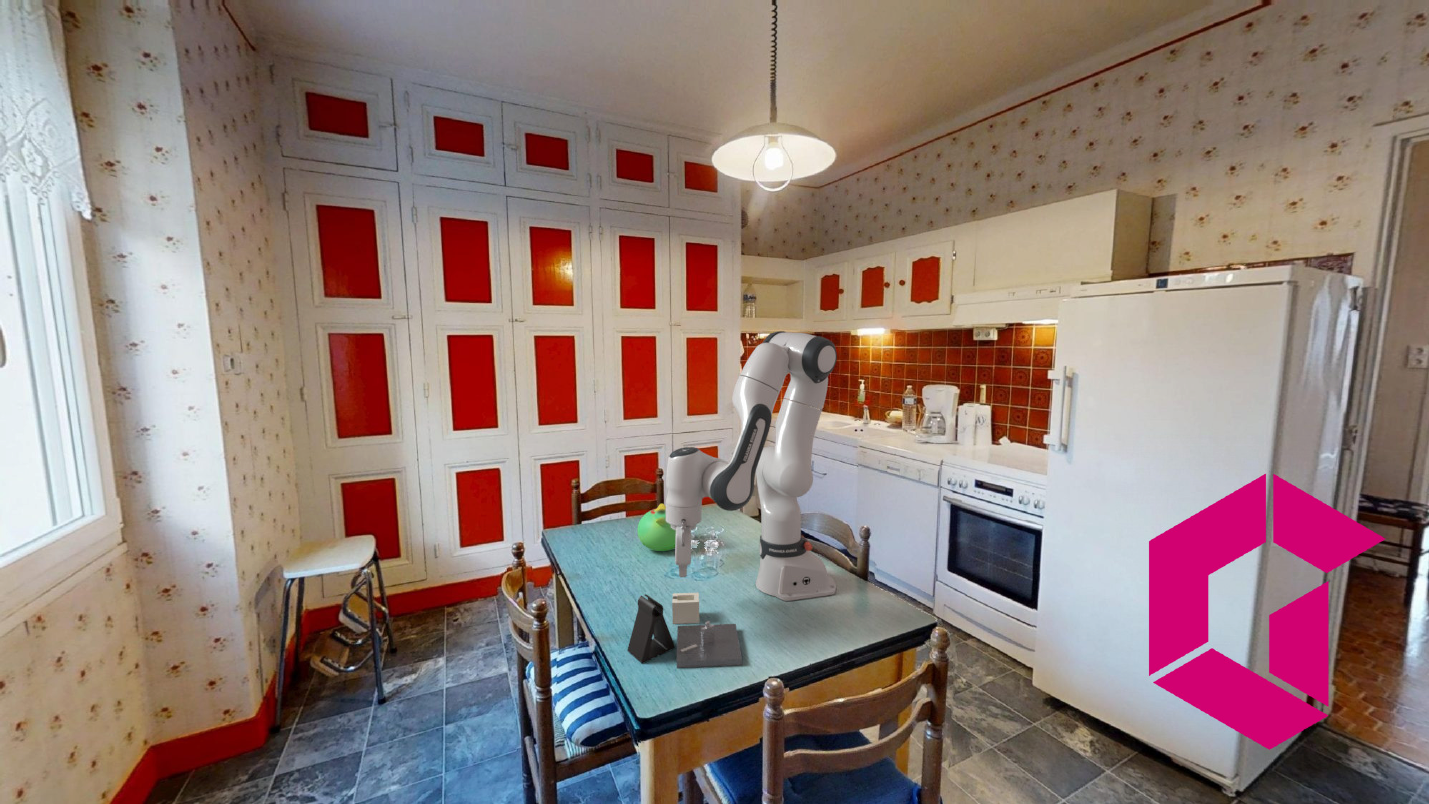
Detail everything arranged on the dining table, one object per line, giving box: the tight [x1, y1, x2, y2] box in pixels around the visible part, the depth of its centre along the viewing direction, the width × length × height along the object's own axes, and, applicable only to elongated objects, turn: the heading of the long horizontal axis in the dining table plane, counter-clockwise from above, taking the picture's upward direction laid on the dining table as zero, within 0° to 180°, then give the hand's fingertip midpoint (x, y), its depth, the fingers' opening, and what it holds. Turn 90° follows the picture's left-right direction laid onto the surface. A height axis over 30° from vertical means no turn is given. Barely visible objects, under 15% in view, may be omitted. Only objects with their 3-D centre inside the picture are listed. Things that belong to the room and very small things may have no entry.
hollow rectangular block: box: [671, 592, 700, 625], centre depth 130 cm, size 7×5×6 cm
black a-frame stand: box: [626, 593, 676, 664], centre depth 117 cm, size 9×6×12 cm, turn 129°
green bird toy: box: [637, 503, 676, 552], centre depth 174 cm, size 18×17×15 cm
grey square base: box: [676, 620, 743, 669], centre depth 118 cm, size 14×14×6 cm
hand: (682, 567), depth 129 cm, fingers open, 8 cm apart
